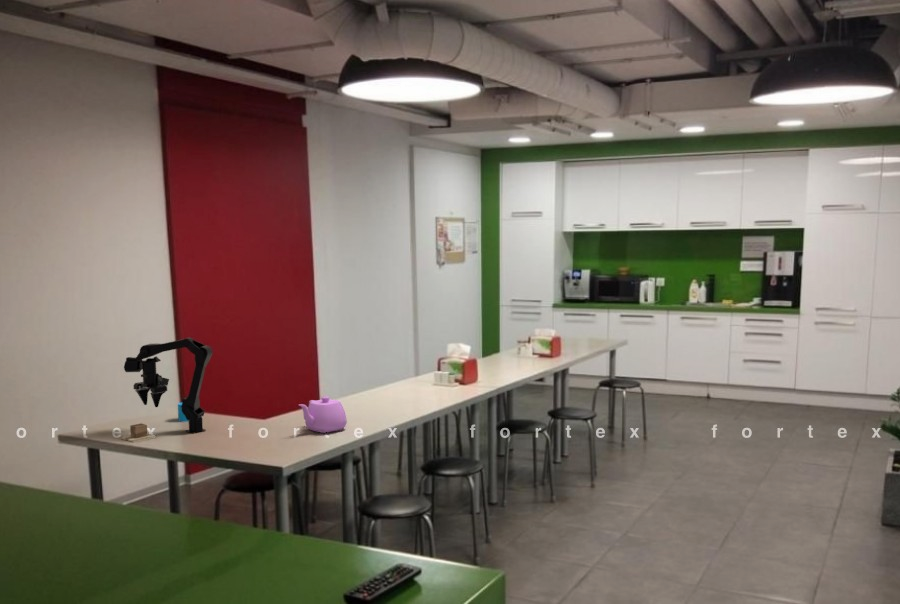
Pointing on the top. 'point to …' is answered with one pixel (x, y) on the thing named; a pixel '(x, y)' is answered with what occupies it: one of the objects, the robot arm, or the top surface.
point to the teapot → (324, 415)
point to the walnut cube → (138, 430)
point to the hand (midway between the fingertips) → (151, 406)
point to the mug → (181, 414)
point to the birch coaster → (138, 438)
